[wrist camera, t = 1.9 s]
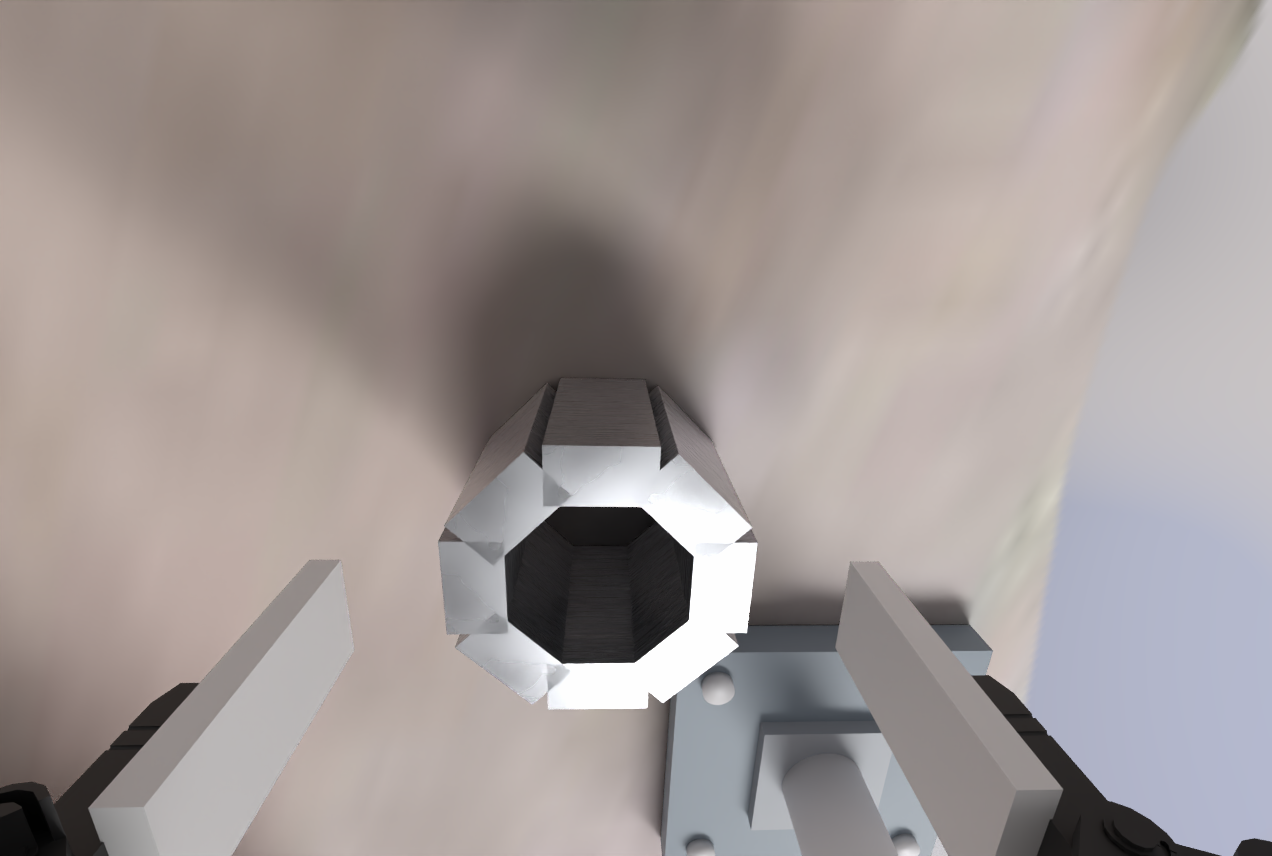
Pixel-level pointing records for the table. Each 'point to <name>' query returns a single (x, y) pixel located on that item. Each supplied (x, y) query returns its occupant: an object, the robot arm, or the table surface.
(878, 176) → the table surface
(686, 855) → the shaft block
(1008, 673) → the table surface
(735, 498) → the hub
